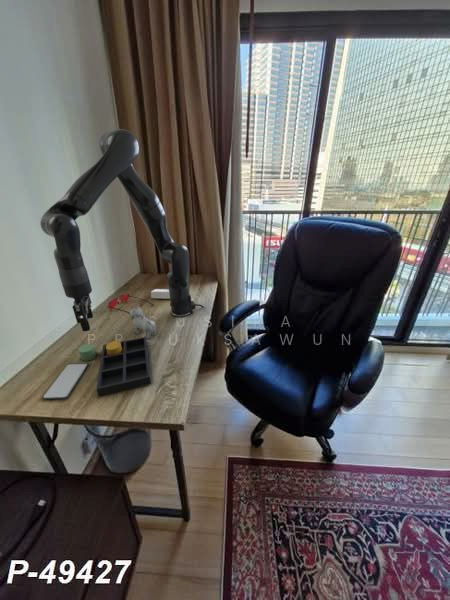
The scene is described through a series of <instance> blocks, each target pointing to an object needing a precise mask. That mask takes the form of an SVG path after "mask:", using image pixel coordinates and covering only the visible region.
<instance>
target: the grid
mask: <svg viewBox="0 0 450 600" xmlns="http://www.w3.org/2000/svg"><path fill="white" fill-rule="evenodd" d="M119 342H120V343H121V347H122V351H123V353H119V354H114V355H109V356H108V353H107V350H106V345H107V344H108V343H106V344H102V349H101V356H100V364H99V370H98V377H97V384H96V392H97V395H98V397H103V396H107V395H110V394H114V393H118V392H122V391H123V392H124V391H128V390H131V389H134V388H135V389H136V388H139V387H144V386H147V385H152V379H151V368H150V361H149V349H148V341H147V339H146V337H145V336H142V337H137V338H132V339H128V340H126V339H125V340H122V341H119Z"/></svg>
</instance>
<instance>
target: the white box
mask: <svg viewBox="0 0 450 600" xmlns="http://www.w3.org/2000/svg"><path fill="white" fill-rule="evenodd" d="M150 299H168V300H170V294H169V288H168V289H167V288H166V289H165V288H161V289H160V288H155V289H153V290H151V291H150Z"/></svg>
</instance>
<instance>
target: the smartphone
mask: <svg viewBox="0 0 450 600" xmlns="http://www.w3.org/2000/svg"><path fill="white" fill-rule="evenodd" d="M88 366H89V364H88V363H86V362H85V363H81V362H80V363H67V364H66V366H65V367H64V368H63V370H62V372H61V373H60V374H59V375H58V377H56V379H55V380H54V382H53V383H52V384H51V386H50V387H49V388H48V390H47V391H46V392H45V393H44V395H43V397H42V398H43V400H52V399H53V400H54V399H55V400H56V399H66V398H68V396H69V395H70V393H71V392H72V390H73V388H74V387H75V386H76V384H77V382H78V381H79V379H80V378H81V377H82V375H83V373H84V372H85V370H86V368H87V367H88Z"/></svg>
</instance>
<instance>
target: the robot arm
mask: <svg viewBox="0 0 450 600" xmlns="http://www.w3.org/2000/svg"><path fill="white" fill-rule="evenodd" d="M98 147H99V151H100V153H101V157H100V158H99V159H98V161H97V162H95V164H93V165H92V166H91V167H89V169H87V170H86V171H84V172H83V173H82V174H81V175H79V177H78V178H77V179H76V180H75V181H74V182H73V183H72V184H71V186H70V187H69V188H68V189H67V191H66V192H65V193H64V195H63V197H61V198H60V199H59V200H57V201H56V202H55V203H54V204H53V205H51V206H50V207H49V208H48V209H47V210H46V211H45V212H44V213H43V215H41V218H40V223H39V224H40V228H41V230H42V232H43V233H44V234H45V235H47V236H49V237H52V238H54V242H55V247H56V248H54V250H53V256H54V260H55V263H56V266H57V270H58V276H59V279H60V283H61V286H62V288H63V291H64V295H65V296H66V298H68V299H73V300H74V301H73V305H72V310H73V313H74V317H75V320H76V323H77V324H80V327H81V330H82V332H89V331H90V330H91V327H90V322H89V319H92V318H93V317H94V314H93V310H92V299H91V296H90V295H91V293H92V292H93V288H92V284H91V280H90V277H89V274H88V270H87V268H86V265H85V262H84V258H83V255H82V252H81V247H82V246H81V230H80V227H79V225H78V222H77V219H78V218H80V217H83V216H85V215H87V214H88V212H90V210H91V209H92V208H93V207H94V206H95V204H96V203H97V201H98V200H99V199H100V197H101V196H102V195H103V193H104V192H105V191H106V190H107V188H108V187H109V186H110V185H111V184H112V183H113V182H114V181H115V179H118V181H119V182H120V184H121V185H122V187H123V188H124V190H125V192H126V194H127V196H128V197H129V199H130V201H131V203H132V205H133V206H134V208H135V210H136V212H137V213H138V215H139V217H140V219H141V220H142V222H143V224H144V225H145V227H146V228H147V230H148V232H149V234H150V235H151V237H152V238H153V240H154V243H155V245H156V247H157V250H158V252H159V255H160V257H161V258H162V260H163V261H164V262H165V263H167V264H170V265H171V271H169V272H168V273H167V275H166V278H167V285H168V290H169V294H170V299H169V302H170V303H169V306H170V312H171V315H172V316H174V317H177V318H183V317H187V316H188V315H190V314H191V315H192V314H193V310H196V307H201V308H202V309H204V308H205V306H203V304H199V303H195V301H194V300H192V295H191V293H190V281H189V279H190V278H189V275H190V268H191V267H190V266H191V265H190V252H189V249H188V248H187V246H185V245H183V244H180V243H177V242H175V241H174V240H173V238H172V237H171V235H170V232H169V231H168V227H167V213H166V211H165V208H164V206H163V204H162V202H161V200H160V198H159V196H158V195H157V194H156V192H155V191H154V190H153V189H152V188H151V187H150V186H149V185H148V184H147V183H146V182H145V180H143V178H141V176H140V175H139V173H138V172H137V171H136V168H135V167H134V165H133V163H134V162H135V160H137V158H138V156H139V154H140V145H139V142H138V139H137V138H136V136H135V135H134V134H133V133H132V132H131V131H130V130H127V129H125V128H124V129H123V128H118V129H113V130H110V131H106V132H104V133H102V134H101V135H100V136H99V139H98Z"/></svg>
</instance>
